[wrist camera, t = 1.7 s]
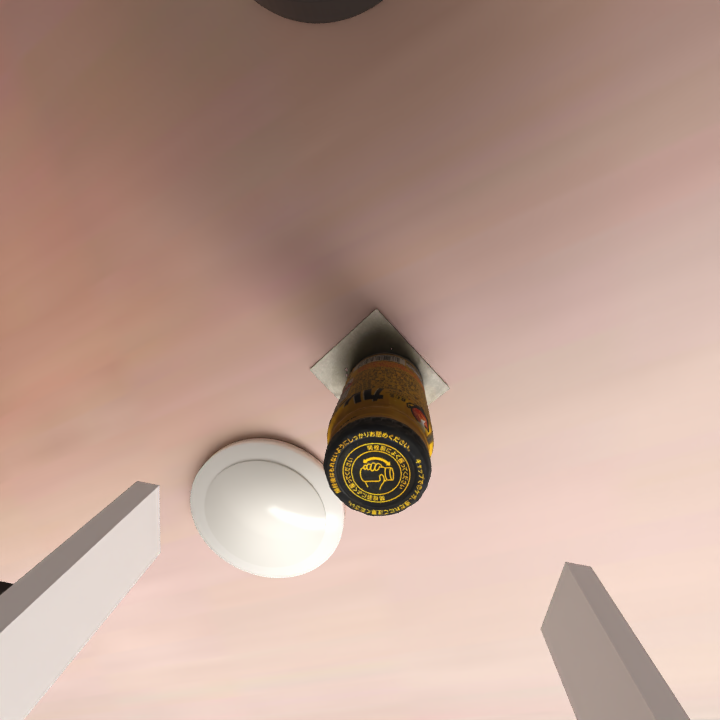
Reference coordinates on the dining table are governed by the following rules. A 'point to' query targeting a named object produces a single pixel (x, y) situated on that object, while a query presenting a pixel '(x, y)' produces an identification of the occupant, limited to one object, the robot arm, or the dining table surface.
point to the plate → (267, 508)
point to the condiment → (378, 419)
